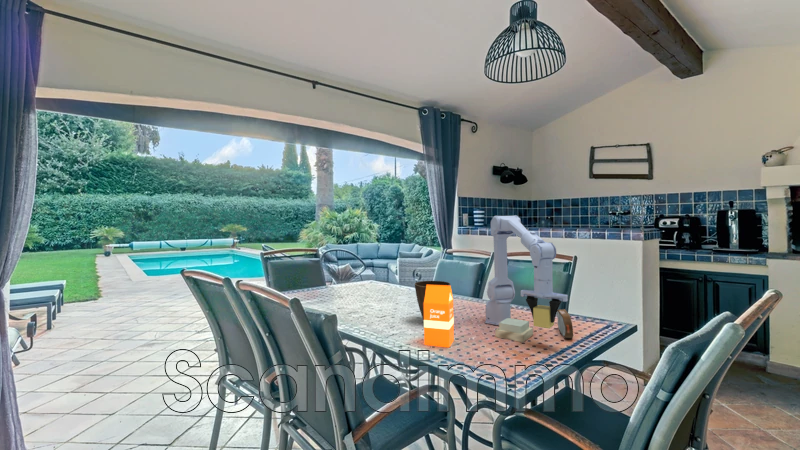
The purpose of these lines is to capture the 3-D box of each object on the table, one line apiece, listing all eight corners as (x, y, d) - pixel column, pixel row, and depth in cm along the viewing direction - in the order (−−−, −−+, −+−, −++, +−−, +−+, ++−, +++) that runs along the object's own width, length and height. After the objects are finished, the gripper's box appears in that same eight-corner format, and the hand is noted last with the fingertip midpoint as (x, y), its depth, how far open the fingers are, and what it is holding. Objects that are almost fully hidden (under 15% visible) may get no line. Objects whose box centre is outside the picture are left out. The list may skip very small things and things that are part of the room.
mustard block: (533, 326, 116) (533, 307, 116) (538, 322, 120) (538, 304, 120) (549, 328, 113) (549, 310, 113) (553, 324, 117) (553, 306, 117)
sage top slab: (499, 329, 128) (499, 322, 128) (507, 324, 134) (507, 317, 134) (521, 333, 123) (521, 326, 123) (529, 328, 129) (529, 321, 129)
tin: (574, 341, 121) (573, 317, 121) (564, 341, 122) (563, 316, 122) (564, 328, 136) (564, 306, 136) (556, 328, 136) (555, 306, 136)
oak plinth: (495, 336, 128) (495, 329, 128) (506, 329, 135) (506, 323, 135) (523, 342, 121) (522, 335, 121) (532, 334, 129) (532, 327, 129)
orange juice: (449, 347, 117) (448, 287, 117) (423, 344, 120) (422, 286, 120) (454, 340, 125) (453, 283, 125) (430, 337, 128) (429, 282, 128)
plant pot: (432, 314, 159) (431, 279, 159) (458, 321, 148) (457, 283, 147) (407, 321, 149) (407, 283, 149) (433, 329, 138) (433, 288, 138)
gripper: (517, 279, 118) (517, 319, 118) (563, 283, 109) (563, 327, 109) (524, 276, 124) (525, 315, 124) (569, 280, 114) (569, 321, 115)
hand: (543, 320), depth 117 cm, fingers closed on mustard block, 5 cm apart
